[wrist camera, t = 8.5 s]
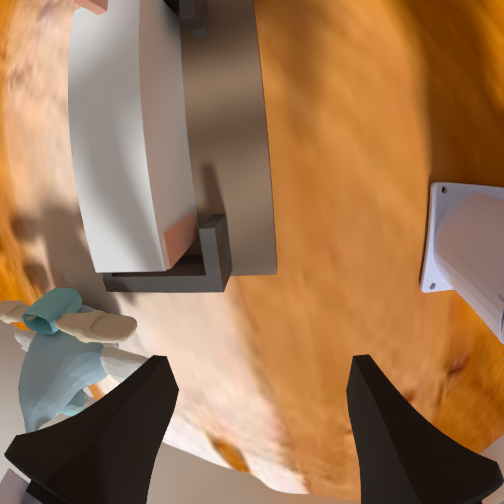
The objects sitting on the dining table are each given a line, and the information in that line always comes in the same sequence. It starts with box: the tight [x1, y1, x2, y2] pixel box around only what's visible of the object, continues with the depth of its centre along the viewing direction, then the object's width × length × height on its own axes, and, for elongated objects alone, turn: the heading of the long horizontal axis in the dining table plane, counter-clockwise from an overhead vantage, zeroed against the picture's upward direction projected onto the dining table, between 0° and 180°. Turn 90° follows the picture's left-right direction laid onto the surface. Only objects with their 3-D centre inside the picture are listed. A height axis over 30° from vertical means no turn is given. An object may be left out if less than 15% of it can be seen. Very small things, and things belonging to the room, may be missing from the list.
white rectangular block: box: [68, 0, 199, 272], centre depth 11 cm, size 14×4×8 cm, turn 5°
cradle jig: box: [100, 0, 277, 293], centre depth 14 cm, size 19×13×4 cm
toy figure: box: [0, 287, 149, 433], centre depth 15 cm, size 17×10×15 cm, turn 94°
